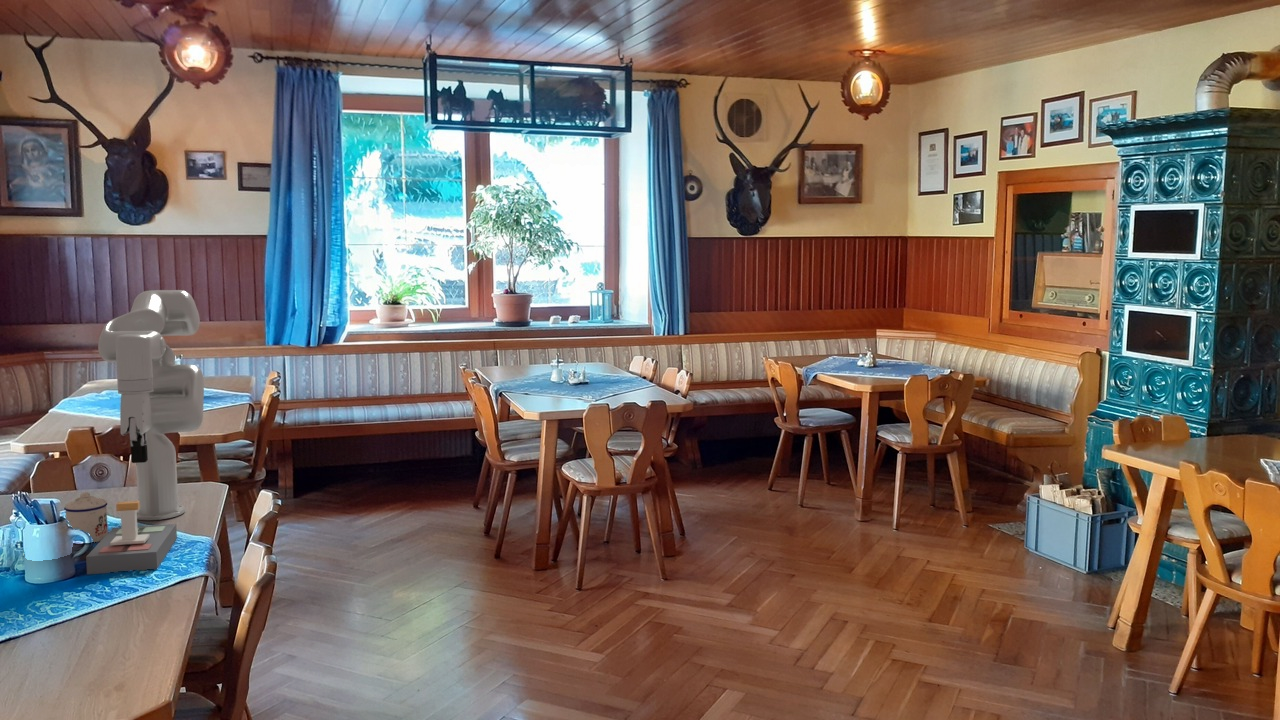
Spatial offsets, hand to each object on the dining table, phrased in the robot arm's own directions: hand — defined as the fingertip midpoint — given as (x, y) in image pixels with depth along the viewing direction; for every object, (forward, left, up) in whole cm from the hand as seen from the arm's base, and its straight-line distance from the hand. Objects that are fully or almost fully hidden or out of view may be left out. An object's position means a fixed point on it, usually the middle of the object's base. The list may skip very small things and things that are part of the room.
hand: (139, 461), depth 227 cm
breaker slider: (+13, 0, -16) cm, 20 cm away
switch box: (+10, 0, -20) cm, 22 cm away
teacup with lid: (-8, -14, -21) cm, 26 cm away
